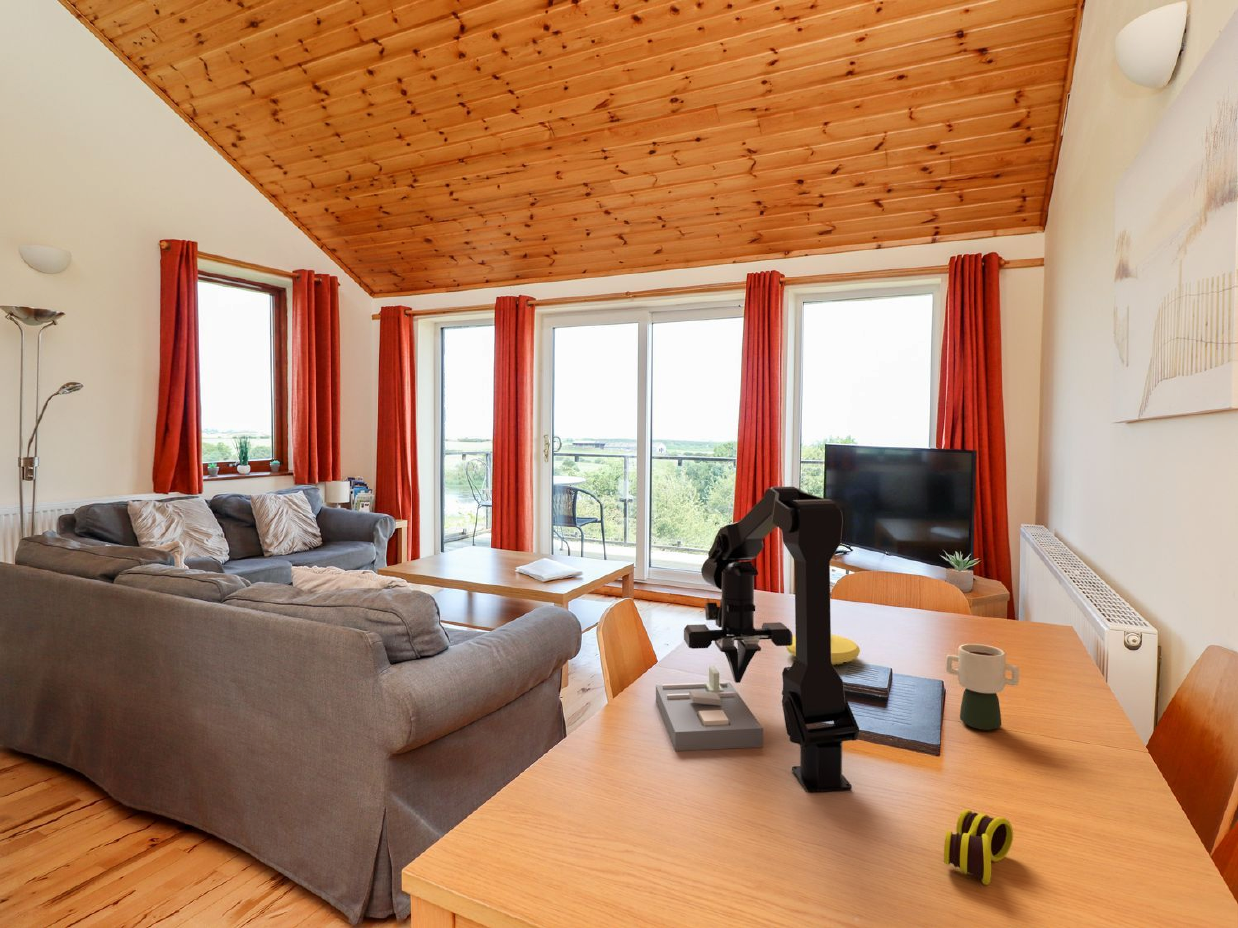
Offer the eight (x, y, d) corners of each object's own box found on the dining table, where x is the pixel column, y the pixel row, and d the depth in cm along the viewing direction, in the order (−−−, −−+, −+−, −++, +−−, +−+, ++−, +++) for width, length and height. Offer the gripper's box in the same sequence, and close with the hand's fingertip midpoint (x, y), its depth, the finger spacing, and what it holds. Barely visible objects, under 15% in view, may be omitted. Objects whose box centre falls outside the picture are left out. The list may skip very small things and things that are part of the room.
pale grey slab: (720, 705, 115) (721, 699, 115) (692, 702, 115) (693, 696, 115) (715, 698, 119) (716, 692, 119) (688, 695, 118) (689, 689, 118)
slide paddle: (723, 692, 121) (723, 673, 121) (709, 693, 121) (709, 673, 120) (718, 685, 124) (718, 666, 124) (705, 686, 124) (705, 666, 124)
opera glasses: (964, 836, 83) (965, 797, 83) (1013, 855, 80) (1014, 813, 79) (937, 873, 76) (938, 830, 76) (989, 895, 73) (990, 850, 72)
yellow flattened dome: (876, 666, 145) (876, 633, 145) (815, 675, 139) (815, 641, 139) (827, 645, 160) (828, 615, 159) (770, 653, 154) (771, 622, 154)
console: (762, 746, 107) (763, 724, 107) (675, 750, 106) (675, 728, 106) (729, 698, 127) (730, 679, 127) (655, 701, 126) (655, 681, 126)
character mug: (1019, 726, 115) (1021, 650, 114) (1014, 741, 109) (1016, 661, 108) (948, 711, 121) (950, 638, 120) (940, 724, 115) (942, 649, 115)
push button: (728, 735, 109) (728, 719, 109) (703, 736, 108) (704, 720, 108) (722, 725, 113) (722, 709, 112) (698, 726, 112) (698, 710, 112)
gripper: (773, 585, 131) (773, 665, 132) (678, 587, 129) (678, 668, 130) (794, 599, 120) (793, 686, 121) (689, 601, 118) (689, 690, 119)
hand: (737, 681), depth 123 cm, fingers closed
